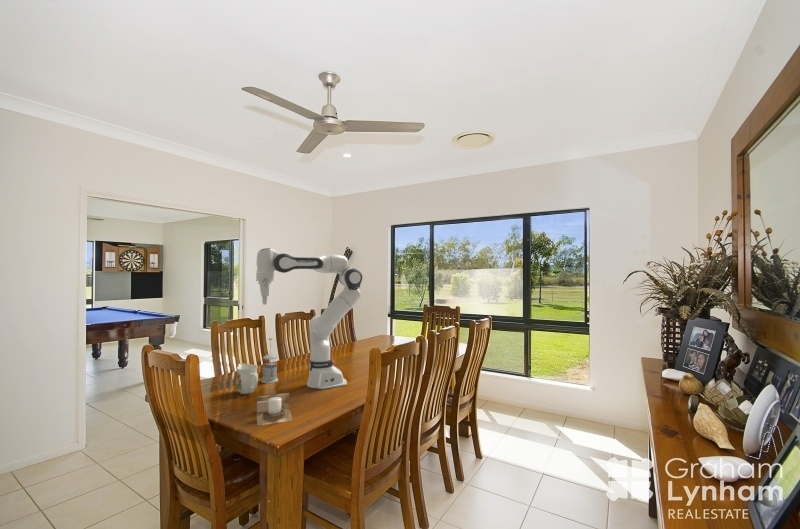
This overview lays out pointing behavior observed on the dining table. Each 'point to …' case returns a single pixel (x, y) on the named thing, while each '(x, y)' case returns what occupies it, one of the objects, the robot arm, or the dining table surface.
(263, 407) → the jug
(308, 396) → the dining table surface
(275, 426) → the dining table surface
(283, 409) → the stand
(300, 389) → the dining table surface
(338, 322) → the robot arm
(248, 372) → the pitcher
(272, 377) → the french press
